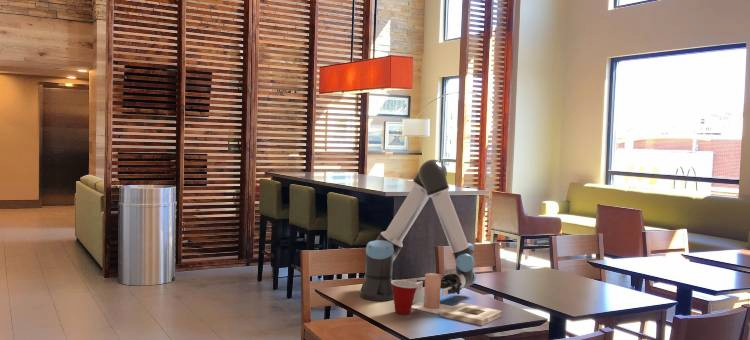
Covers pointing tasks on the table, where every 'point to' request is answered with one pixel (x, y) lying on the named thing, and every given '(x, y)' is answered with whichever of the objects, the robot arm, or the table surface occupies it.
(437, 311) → the off-white pad
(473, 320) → the socket board
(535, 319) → the table surface
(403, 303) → the plastic cup
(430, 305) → the terracotta canister
